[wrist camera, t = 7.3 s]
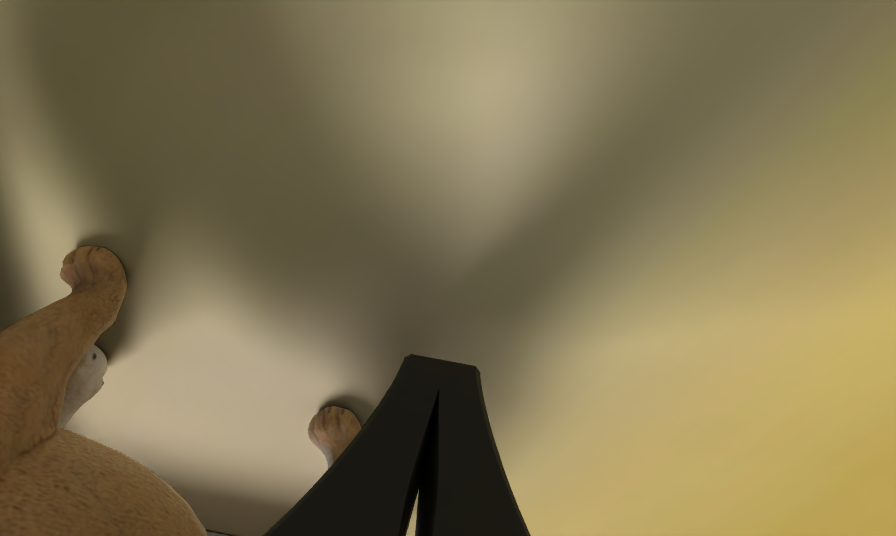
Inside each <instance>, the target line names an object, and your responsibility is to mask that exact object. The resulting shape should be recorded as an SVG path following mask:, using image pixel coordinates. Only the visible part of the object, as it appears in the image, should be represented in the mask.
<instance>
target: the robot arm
mask: <svg viewBox="0 0 896 536" xmlns="http://www.w3.org/2000/svg"><path fill="white" fill-rule="evenodd" d="M418 489H419V494H418V507H417V519H416V531H415V536H531V535H530V533H529V531H528V529H527V526H526V524H525V522H524V520H523V517H522V515H521V512H520V510H519V508H518V505H517V503H516V500H515V497H514V495H513V492H512V490H511V487H510V485H509V482H508V479H507V476H506V474H505V471H504V468H503V465H502V462H501V459H500V456H499V453H498V450H497V446H496V443H495V440H494V437H493V434H492V430H491V426H490V423H489V419H488V415H487V411H486V407H485V402H484V397H483V392H482V386H481V378H480V372H479V370H478V369H477V368H476V366H471V365H466V364H461V363H456V362H450V361H445V360H440V359H434V358H429V357H424V356H419V355H413V354H411V355H409V356H407V357H405V358H404V361H403V363H402V366H401V368H400V370H399V372H398V374H397V376H396V377H395V379H394V381H393V383H392V384H391V386H390V388H389V389H388V391H387V393H386V394H385V396H384V397H383V399H382V400H381V402H380V403H379V405H378V406H377V408H376V409H375V410H374V412H373V413H372V415H371V416H370V417H369V419H368V420H367V422H366V423H365V424H364V426H363V427H362V429H361V430H360V431H359V433H358V434H357V435H356V436H355V438H354V439H353V440H352V441H351V443H350V444H349V445H348V446H347V447H346V449H345V450H344V451H343V452H342V454H341V455H340V456H339V457H338V458H337V460H336V461H335V462H334V463H333V464H332V466H331V467H330V468H329V469H328V470H327V471H326V473H325V474H324V475H323V476H322V477H321V478H320V479H319V480H318V481H317V483H316V484H315V485H314V486H313V487H312V488H311V489H310V490H309V491H308V492H307V493H306V494H305V495H304V496H303V497H302V498H301V499H300V500H299V501H298V502H297V503H296V504H295V506H294V507H293V508H292V509H291V510H290V511H289V512H288V513H287V514H286V515H284V516H283V517H282V518H281V519H280V520H279V521H278V522H277V523H276V524H275V525H274V526H273V527H272V528H271V529H270V530H269V531H268V532H266V533H265V534H264V535H263V536H406V533H407V529H408V526H409V522H410V518H411V515H412V511H413V507H414V504H415V500H416V496H417V493H418Z"/></svg>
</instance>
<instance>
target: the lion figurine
mask: <svg viewBox="0 0 896 536" xmlns="http://www.w3.org/2000/svg"><path fill="white" fill-rule="evenodd" d="M60 276H61V279H63V280H64V281H65V282H66V283H67V284H69V285H70V286H71V288H72V293H71V294H70V295H68V296H67V297H65V298H63V299H61V300H58V301H56V302H54V303H52V304H50V305H48V306H46V307H44V308H42V309H40V310H38V311H36V312H34V313H32V314H31V315H29V316H27V317H25V318H23V319H21V320H20V321H18V322H16V323H15V324H13V325H11V326H10V327H8V328H6V329H5V330H3V331H2V332H0V536H208V535H207V532H206V530H205V528H204V526H203V525H202V523H201V522H200V520H199V519H198V517H197V516H196V514H195V513H194V511H193V510H192V508H191V507H190V505H189V504H188V503H187V502H186V501H185V500H184V499H183V498H182V497H181V496H180V495H179V494H178V493H177V492H176V491H175V490H174V489H173V488H172V487H171V486H170V485H169V484H168V483H167V482H165V481H164V480H163V479H162V478H160V477H159V476H157V475H156V474H154V473H153V472H151V471H150V470H149V469H147V468H146V467H144V466H143V465H141V464H139V463H138V462H136V461H134V460H133V459H131V458H129V457H127V456H126V455H124V454H122V453H120V452H118V451H116V450H113V449H111V448H109V447H106V446H104V445H102V444H100V443H97V442H95V441H93V440H91V439H88V438H85V437H83V436H80V435H78V434H75V433H72V432H70V431H67V430H65V429H62V428H63V427H64V426H65V424H66V423H67V422H68V421H69V419H70V418H71V417H72V416H73V414H74V413H75V412H76V411H77V410H78V409H79V408H80V407H81V406H82V405H83V404H84V403H85V402H87V401H88V400H90V399H91V398H92V397H93V396H94V395H95V394H96V393H97V392H98V391H99V390H100V389H101V387H102V385H103V384H104V382H103V379H102V377H103V376H104V374H105V372H106V371H107V359H106V357H105V355H104V353H103V352H102V351H101V350H100V349H99V348H98V347H97V346H95V345H94V343H95V342H96V340H97V339H98V338H99V336H100V335H101V334H102V333H103V332H104V331H105V330H106V329H108V328H109V327H110V326H111V325H112V324H113V323H114V322H115V320H116V318H117V315H118V312H119V309H120V306H121V304H122V301H123V299H124V296H125V293H126V290H127V281H126V277H125V272H124V269H123V267H122V265H121V262H120V261H119V259H118V258H117V257H116V256H115V255H114V254H113V253H112V252H110V251H109V250H107V249H106V248H102V247H96V246H83V247H80V248H78V249H75V250H74V251H72V252H70V253H69V254H68V255H67V256H66V257H65V258H64V260H63V267H62V269H61V273H60ZM360 430H361V426H360V423H359V421H358V419H357V418H356V416H355V415H354V414H353V413H352V412H351V411H349V410H347V409H344V408H341V407H336V406H331V407H327V408H325V409H323V410H322V411H320V412H319V413H318V414H316V415H315V416H314V417H313V418H312V420H311V422H310V424H309V427H308V435H309V439H310V440H311V441H312V443H313V444H314V445H315V446H317V447H318V448H319V449H320V450H321V451H322V452H323V453H324V455H325V457H326V459H327V462H328V469H329V468H330V467H331V466H332V464H333V463H334V462H335V461H336V460H337V458H338V457H339V456H340V455H341V454H342V452H343V451H344V450H345V449H346V447H347V446H348V445H349V444H350V443H351V441H352V440H353V439H354V438H355V436H356V435H357V434H358V433H359V431H360Z"/></svg>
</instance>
